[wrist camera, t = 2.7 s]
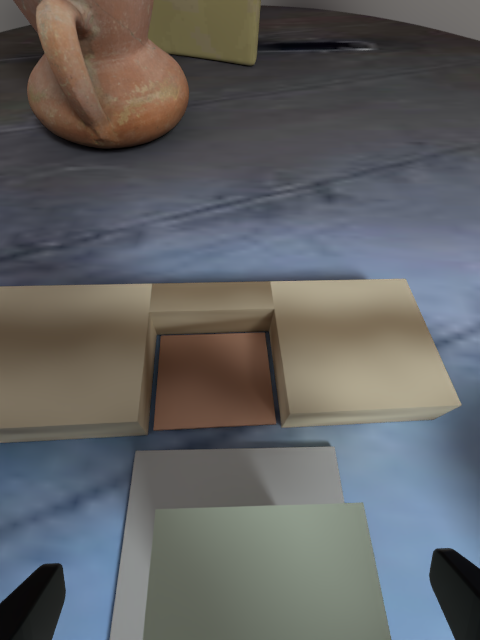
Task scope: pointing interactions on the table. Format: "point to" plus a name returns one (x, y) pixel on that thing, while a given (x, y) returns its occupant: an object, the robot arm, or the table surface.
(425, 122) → the table surface
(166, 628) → the sage block
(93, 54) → the ceramic jug
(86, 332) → the block
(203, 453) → the mat
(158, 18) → the cheese
